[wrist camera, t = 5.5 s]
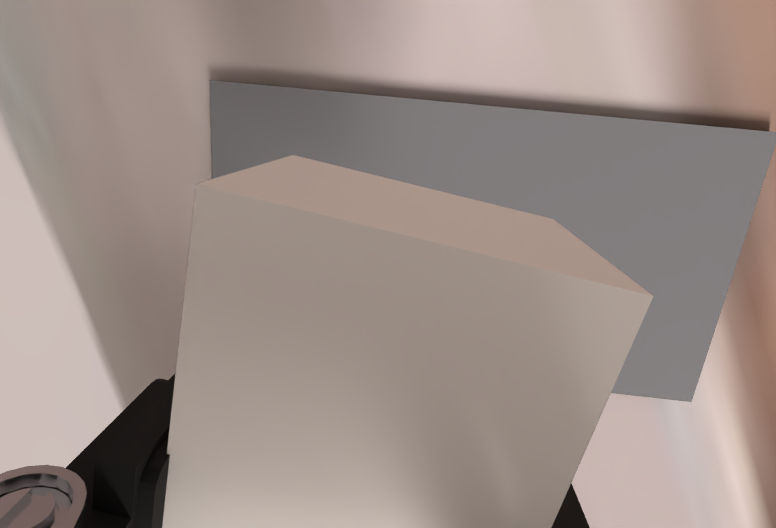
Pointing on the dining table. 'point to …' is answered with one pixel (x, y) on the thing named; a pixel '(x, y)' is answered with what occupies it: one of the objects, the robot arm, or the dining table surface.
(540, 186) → the mat
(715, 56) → the dining table surface
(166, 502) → the white rectangular block
